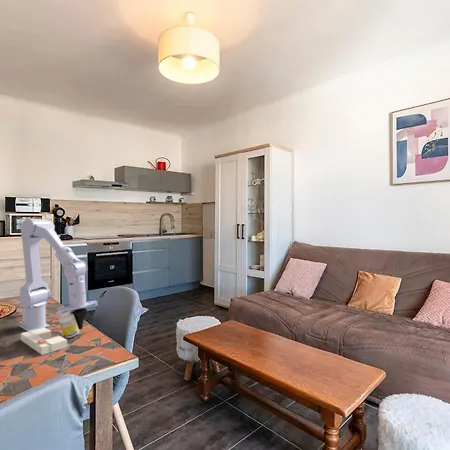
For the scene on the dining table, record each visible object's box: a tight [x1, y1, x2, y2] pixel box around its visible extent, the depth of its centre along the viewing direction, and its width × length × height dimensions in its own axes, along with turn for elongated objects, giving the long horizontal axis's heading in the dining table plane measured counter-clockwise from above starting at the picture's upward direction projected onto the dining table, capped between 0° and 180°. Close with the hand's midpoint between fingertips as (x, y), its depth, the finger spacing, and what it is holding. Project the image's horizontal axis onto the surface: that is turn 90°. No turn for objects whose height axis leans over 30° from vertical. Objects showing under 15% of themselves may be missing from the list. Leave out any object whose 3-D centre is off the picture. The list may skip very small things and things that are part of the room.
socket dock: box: [20, 327, 68, 356], centre depth 110 cm, size 19×8×3 cm, turn 51°
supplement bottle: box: [58, 310, 81, 339], centre depth 117 cm, size 5×5×10 cm
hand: (79, 328), depth 119 cm, fingers closed, pressing on supplement bottle
